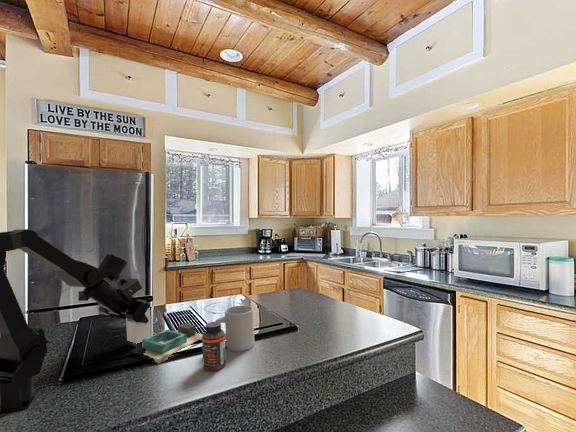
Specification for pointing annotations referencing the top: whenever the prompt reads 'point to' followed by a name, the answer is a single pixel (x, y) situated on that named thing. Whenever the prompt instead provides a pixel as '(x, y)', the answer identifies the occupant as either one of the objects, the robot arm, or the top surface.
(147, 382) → the top surface
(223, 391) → the top surface
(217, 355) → the supplement bottle
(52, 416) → the top surface
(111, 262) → the robot arm
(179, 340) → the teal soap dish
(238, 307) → the mug
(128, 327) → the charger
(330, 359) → the top surface
